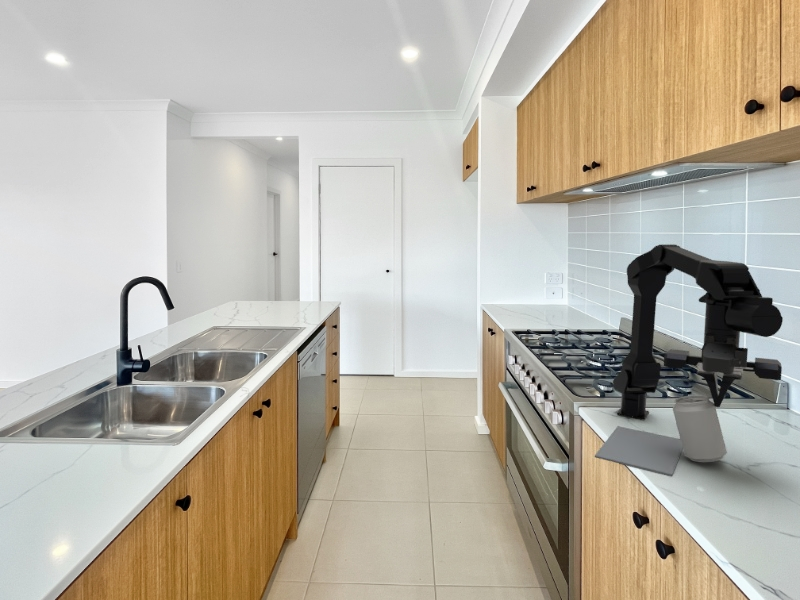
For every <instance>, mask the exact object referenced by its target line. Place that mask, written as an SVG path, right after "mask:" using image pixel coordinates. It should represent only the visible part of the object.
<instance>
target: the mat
mask: <svg viewBox="0 0 800 600" xmlns="http://www.w3.org/2000/svg"><path fill="white" fill-rule="evenodd" d="M682 452H683V448H682V444H681V440H680V438H677V437H673V436H668V435H663V434H658V433H654V432H648V431H643V430H639V429H633V428H628V427H624V426H619V425H617V427H616V428H615V429H614V430H613V432H612V433H611V434H610V436H608V438H607V439H606V440H605V441H604V443H603V444H602V445H601V447H600V448H599V450H598V451H596V453H595V455H594V458H596V459H600V460H603V461H604V460H605V461H609V462H612V463H617V464H620V465H626V466H628V467H632V468H637V469H641V470H645V471H648V472H652V473H657V474H661V475H664V476H669V477H673V475H674V473H675V469H676V467H677V464H678V462H679V459H680V456H681V454H682Z"/></svg>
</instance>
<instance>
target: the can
mask: <svg viewBox="0 0 800 600" xmlns="http://www.w3.org/2000/svg"><path fill="white" fill-rule="evenodd" d="M674 403H675V404H674V405H673V406H672V411H673V415H674V421H675V424H676V427H677V428H676V429H677V431H678V435H679V439H680V440H681V444H682V448H683V449H682V452H683V455H684V456H685V457H686V458H688V459H689V460H690V461H693V462H697V463H712V462H718V461H720V460H722V459H723V458H724V457H725V455H726V454H727V453H728V452H727V446H726V443H725V440H724V436H723V432H722V428H721V423H720V420H719V417H718V413H717V407H715V404H714V401H713V402H712V401H711V400H710V396H709V395H708V396H707V395H703V394H693V395H684V396H680V397H678V398H675V400H674Z"/></svg>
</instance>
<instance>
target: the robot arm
mask: <svg viewBox="0 0 800 600" xmlns="http://www.w3.org/2000/svg"><path fill="white" fill-rule="evenodd" d="M749 269H750V268H749V266H748V265H747V264H745V263H742V262H738V261H737V262H736V261H727V260H717V259H716V260H715V259H711V258H708V257H706V256H703V255H701V254H698V253H696V252H692V251H691V250H688V249H685V248H683V247H681V246H679V245H677V244H675V243H674V244H669V243H668V244H667V243H666V244H658V245H655V246H654V247H652V248H651V250H648V251H646V252H644V253H642V254H640V255H638V256H636V257H635V258H634V259H633V260H632V261H630V263H628V265H627V267H626V275H627V286H628V287H629V289H630V290H631V292H632V294H633V302H632V303H633V306H632V319H631V333H630V335H631V336H630V349H629V350H630V351H629V353H627V355H626V356H625V358H624V359H623V361H622V363H621V370H620V372H618V374H617V375H616V376H615V377H614V378H613V380H612V385H613V389H614V390H616V391H618V392H619V393H621V397H620V398H621V399H620V408H619V410H617V411H616V415H617V416H621V417H622V416H623V417H627V418H632V419H638V420H643V421H644V420H646V418H647V417H648V415H649V413H650V411H649V410H647V408H646V407H647V394H648V393H652V394H655V393H656V391H657V388H658V385H659V381H660V380H661V369H662V366H661V363H660V362H657V360H656V359H655V357H654V355H653V352H654V351H653V349H654V339H655V337H654V336H655V335H654V334H655V326H656V325H655V323H656V322H655V321H656V309H657V299H658V298H657V296H658V295H659V294H660V292H661V291H662V290H663V288H664V287H665V285H666V281H667V276H669V275H670V274H671V273H672V272H674V270H677V271H679V272H682V273H683V274H686V275H688V276H690V277H692V278H694V279H695V283H696V285H697V286H699V288H701V289H702V290H703V291H705V293H704V294H703V295H702V296H701V297H699V298H698V302H699V303H703V304H704V303H705V316H704V333H703V334H704V335H703V344H702V347H701V356H700V355H691V354H690V350H683V349H674V348H673V349H672V348H671V349H668V351H666V353H665V354H664V356H663V367H664V368H665V367H666V368H672V369H679V370H680V369H683V368H684V367H686V366H687V365H689V366H696V368H697V371H696V375H698V376H702V377H703V378H704V380H705V382H706V384H707V386H708V389H709V392H710V395H711V399H712V401H713V403H714V404H715V407H716V408H720V407H721V405H722V403H723V401H724V399H725V396H726V394H727V392H728V390H729V389H730V387H731V386H732V384H733V383H734V381H742V379H743V373H744V372H749V373H750V372H751V373H754V374H755V376H756V377H758V378H759V379H763V380H764V379H765V380H773V381H781V380H782V373H783V372H782V371H783V368H782V363H781V362H780V361H779V360H778V359H773V358H764V357H755V358H754V361H748V350H749V349H748V347H747V348H746V347H740V339H741V333H745V334H748V335H754V336H759V337H764V338H768V337H772V336H774V335H776V334H777V333H778V332H779V330H780V329H781V327H782V325H783V321H784V319H783V318H784V317H783V316H782V314H781V313H782V312H781V311H780V309H779V308H778V307H777V306H775V305H774V304H773V303H774V302H773V301H774V300H773V297H769V296H764V297H763V295H762V293H761V292H760V291H761V290H760V289H759V287H758V286H757V283H756V281H755V280H754V277H753V276H752V274H751V272H750V270H749ZM717 373H719V374H720V373H721V374H722V378H721V383H720V386H719V387H720V388H718V374H717Z"/></svg>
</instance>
